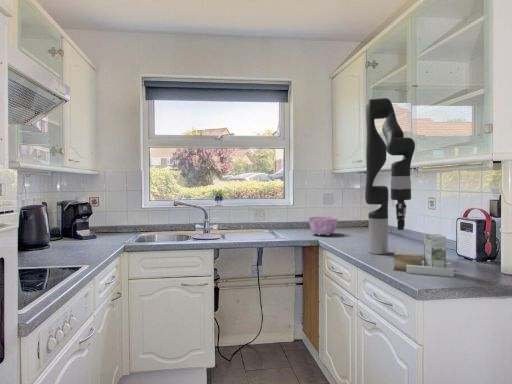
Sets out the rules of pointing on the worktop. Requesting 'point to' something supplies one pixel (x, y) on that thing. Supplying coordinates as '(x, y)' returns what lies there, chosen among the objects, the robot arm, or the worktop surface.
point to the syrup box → (435, 250)
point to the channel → (429, 270)
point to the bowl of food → (323, 225)
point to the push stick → (406, 260)
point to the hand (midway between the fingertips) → (401, 228)
